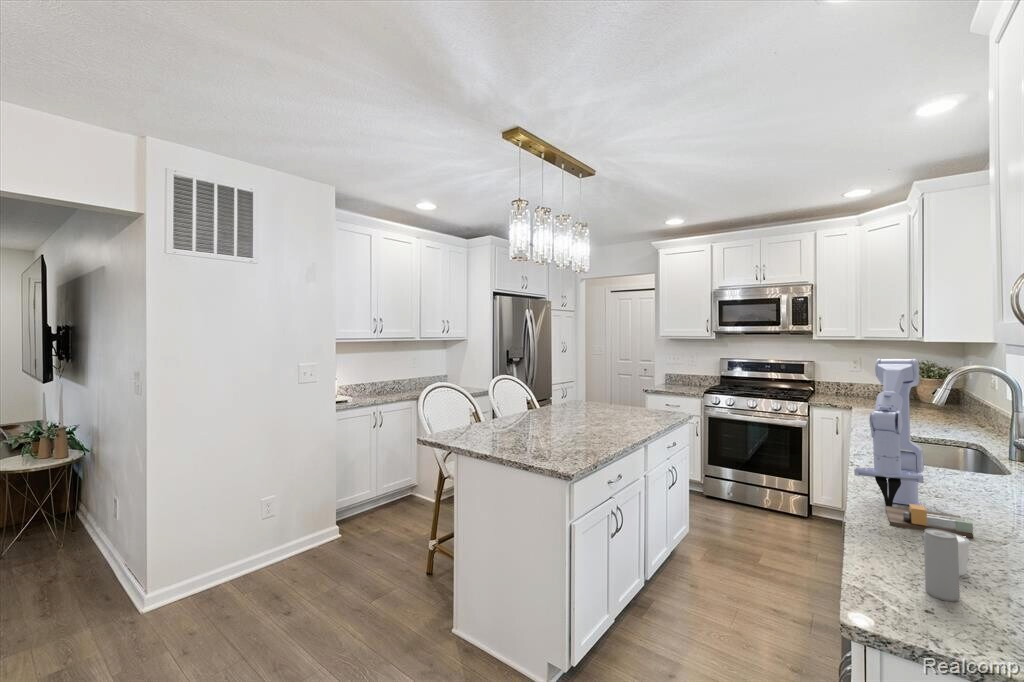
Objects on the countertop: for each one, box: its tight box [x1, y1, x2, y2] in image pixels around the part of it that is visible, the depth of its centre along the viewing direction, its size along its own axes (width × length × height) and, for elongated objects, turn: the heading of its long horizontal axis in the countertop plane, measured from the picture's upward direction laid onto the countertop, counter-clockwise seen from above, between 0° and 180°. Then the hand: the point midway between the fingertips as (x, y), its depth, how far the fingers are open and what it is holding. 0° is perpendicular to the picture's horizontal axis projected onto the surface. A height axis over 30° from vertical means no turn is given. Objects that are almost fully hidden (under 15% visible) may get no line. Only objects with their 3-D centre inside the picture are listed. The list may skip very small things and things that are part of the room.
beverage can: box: [923, 529, 961, 603], centre depth 88 cm, size 5×5×12 cm
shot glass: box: [953, 533, 971, 576], centre depth 99 cm, size 7×7×7 cm
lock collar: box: [908, 504, 928, 526], centre depth 121 cm, size 4×3×4 cm
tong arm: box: [927, 514, 966, 521], centre depth 120 cm, size 2×10×2 cm, turn 59°
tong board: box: [884, 505, 974, 539], centre depth 124 cm, size 15×16×3 cm
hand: (888, 505), depth 125 cm, fingers closed
